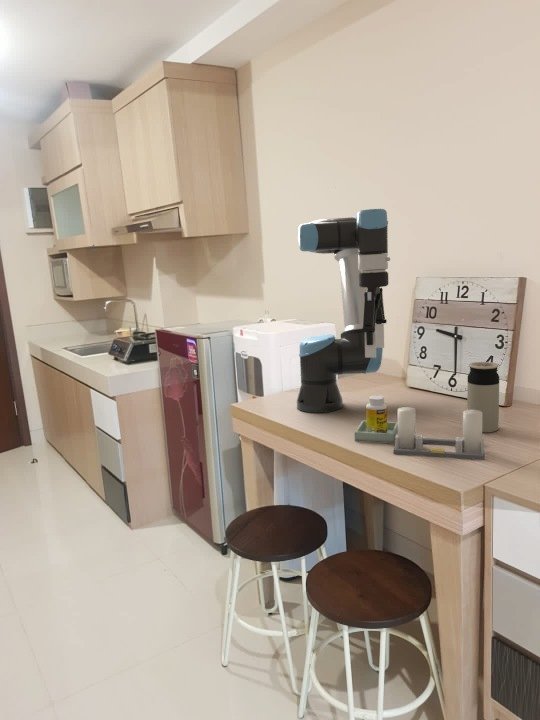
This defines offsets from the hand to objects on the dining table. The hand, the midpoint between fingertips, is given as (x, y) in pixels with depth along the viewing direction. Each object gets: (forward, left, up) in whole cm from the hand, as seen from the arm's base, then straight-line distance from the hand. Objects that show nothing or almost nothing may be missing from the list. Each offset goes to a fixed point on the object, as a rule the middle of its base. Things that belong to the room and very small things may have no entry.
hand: (375, 352), depth 144 cm
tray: (0, 0, -23) cm, 23 cm away
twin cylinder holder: (+17, -8, -23) cm, 29 cm away
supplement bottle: (0, 0, -23) cm, 23 cm away
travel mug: (+27, +11, -23) cm, 37 cm away
